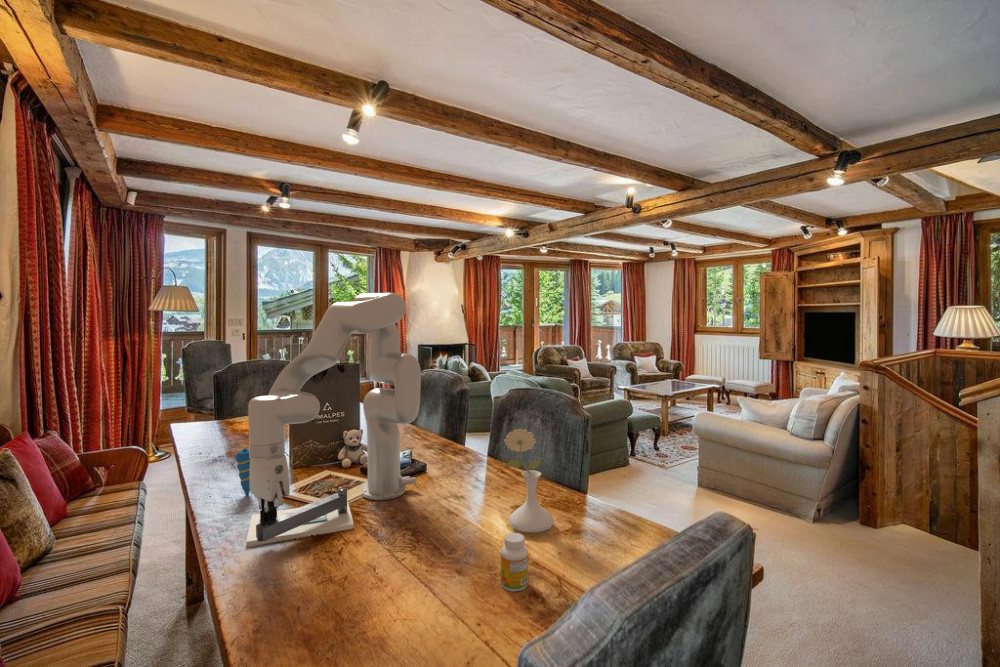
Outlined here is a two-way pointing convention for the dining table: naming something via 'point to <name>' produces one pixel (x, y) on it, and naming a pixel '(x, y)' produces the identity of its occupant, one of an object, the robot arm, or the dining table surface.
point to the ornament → (244, 468)
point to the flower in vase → (530, 512)
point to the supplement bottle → (514, 563)
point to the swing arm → (302, 515)
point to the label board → (305, 526)
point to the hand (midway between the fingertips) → (268, 525)
